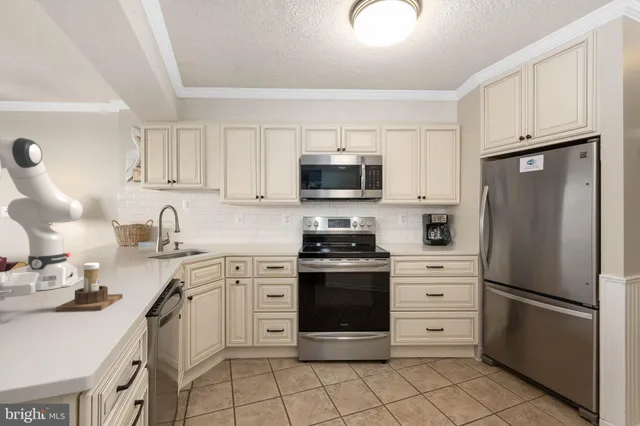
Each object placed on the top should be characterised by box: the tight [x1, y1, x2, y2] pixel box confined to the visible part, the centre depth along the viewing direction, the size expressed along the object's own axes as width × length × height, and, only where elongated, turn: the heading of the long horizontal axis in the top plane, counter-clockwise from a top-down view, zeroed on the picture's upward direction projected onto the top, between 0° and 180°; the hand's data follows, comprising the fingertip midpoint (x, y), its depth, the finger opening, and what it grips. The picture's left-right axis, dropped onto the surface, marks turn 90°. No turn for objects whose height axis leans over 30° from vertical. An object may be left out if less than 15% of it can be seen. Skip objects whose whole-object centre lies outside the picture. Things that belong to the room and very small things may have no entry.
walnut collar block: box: [55, 285, 123, 313], centre depth 109 cm, size 14×14×6 cm
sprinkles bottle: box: [82, 262, 100, 292], centre depth 109 cm, size 5×5×13 cm
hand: (56, 280), depth 102 cm, fingers open, 8 cm apart
